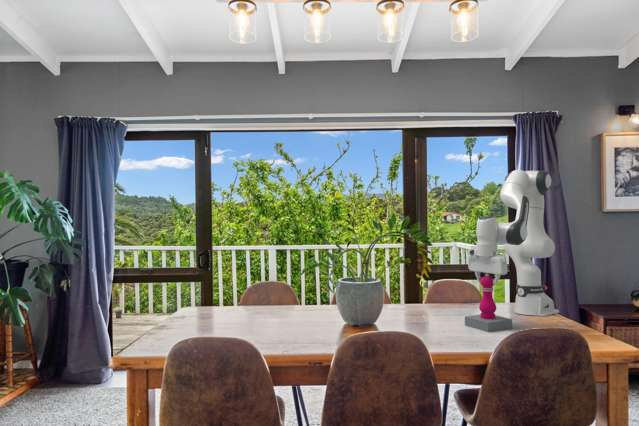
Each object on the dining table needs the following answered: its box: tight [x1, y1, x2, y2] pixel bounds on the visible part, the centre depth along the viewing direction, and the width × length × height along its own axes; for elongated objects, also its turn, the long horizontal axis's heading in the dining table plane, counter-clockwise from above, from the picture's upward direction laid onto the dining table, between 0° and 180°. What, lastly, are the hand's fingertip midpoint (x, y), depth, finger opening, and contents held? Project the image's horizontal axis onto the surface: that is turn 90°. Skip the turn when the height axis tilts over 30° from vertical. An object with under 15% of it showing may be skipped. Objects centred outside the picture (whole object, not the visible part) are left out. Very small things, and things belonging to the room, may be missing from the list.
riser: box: [464, 313, 513, 333], centre depth 210 cm, size 14×14×4 cm
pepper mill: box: [478, 273, 497, 319], centre depth 210 cm, size 7×7×20 cm
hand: (487, 282), depth 210 cm, fingers open, 8 cm apart
